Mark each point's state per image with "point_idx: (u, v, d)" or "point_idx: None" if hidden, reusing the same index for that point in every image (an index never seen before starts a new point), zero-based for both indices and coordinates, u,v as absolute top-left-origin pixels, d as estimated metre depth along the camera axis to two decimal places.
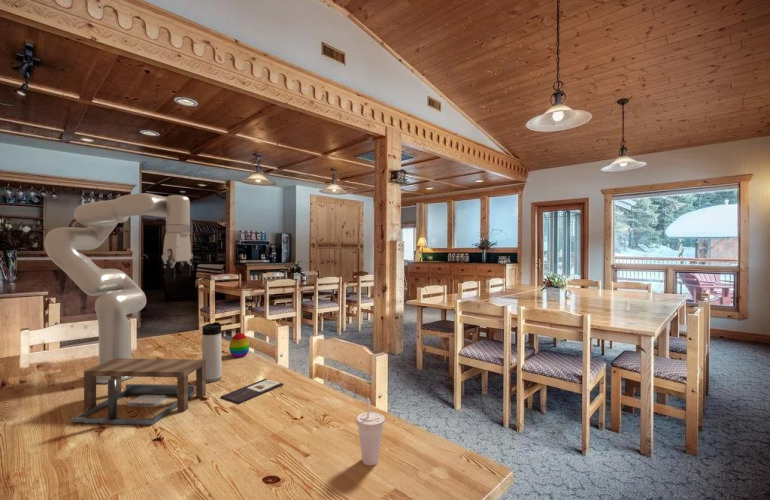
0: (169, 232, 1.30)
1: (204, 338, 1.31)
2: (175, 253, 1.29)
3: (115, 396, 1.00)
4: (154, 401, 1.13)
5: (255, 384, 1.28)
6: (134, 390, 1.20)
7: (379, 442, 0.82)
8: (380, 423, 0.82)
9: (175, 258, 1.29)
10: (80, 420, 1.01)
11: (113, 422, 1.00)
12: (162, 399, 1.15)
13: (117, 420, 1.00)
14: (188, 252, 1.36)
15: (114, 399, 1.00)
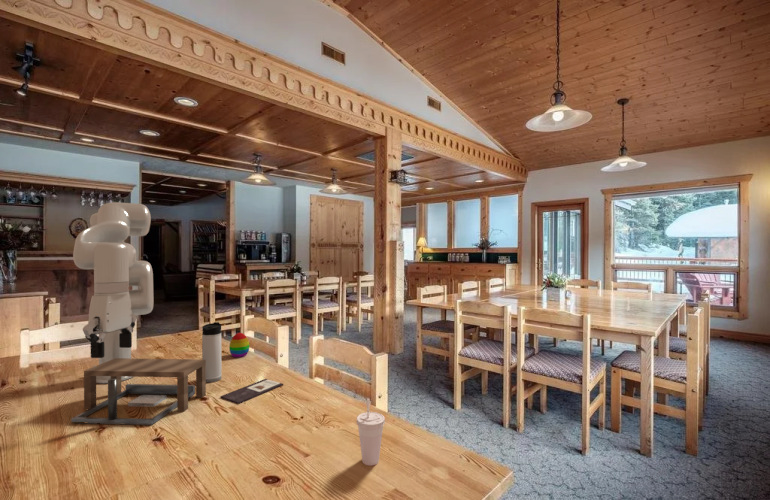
0: (97, 293, 0.97)
1: (204, 338, 1.31)
2: (104, 322, 0.95)
3: (115, 396, 1.00)
4: (154, 401, 1.13)
5: (255, 384, 1.28)
6: (134, 390, 1.20)
7: (379, 442, 0.82)
8: (380, 423, 0.82)
9: (104, 329, 0.95)
10: (80, 420, 1.01)
11: (113, 422, 1.00)
12: (162, 399, 1.15)
13: (117, 420, 1.00)
14: (127, 316, 1.03)
15: (114, 399, 1.00)
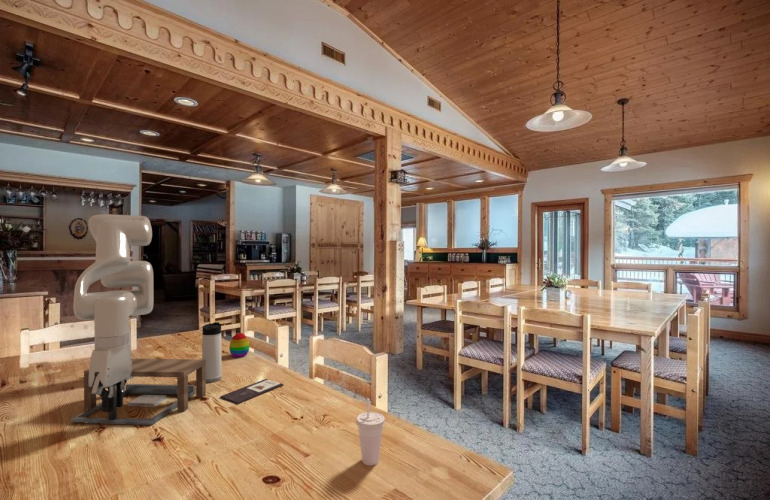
0: (97, 348, 0.97)
1: (204, 338, 1.31)
2: (104, 377, 0.96)
3: (115, 396, 1.00)
4: (154, 401, 1.13)
5: (255, 384, 1.28)
6: (134, 390, 1.20)
7: (379, 442, 0.82)
8: (380, 423, 0.82)
9: (104, 384, 0.96)
10: (80, 420, 1.01)
11: (113, 422, 1.00)
12: (162, 399, 1.15)
13: (117, 420, 1.00)
14: (127, 367, 1.03)
15: None
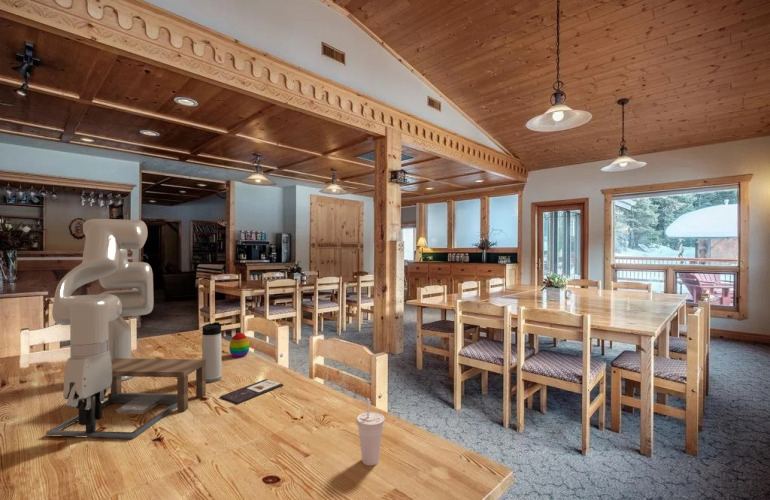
0: (73, 356, 0.90)
1: (204, 338, 1.31)
2: (81, 388, 0.88)
3: (93, 408, 0.93)
4: (144, 407, 1.08)
5: (255, 384, 1.28)
6: (117, 399, 1.13)
7: (379, 442, 0.82)
8: (380, 423, 0.82)
9: (81, 395, 0.89)
10: (56, 433, 0.93)
11: (91, 436, 0.93)
12: (152, 405, 1.11)
13: (95, 433, 0.93)
14: (106, 377, 0.96)
15: None
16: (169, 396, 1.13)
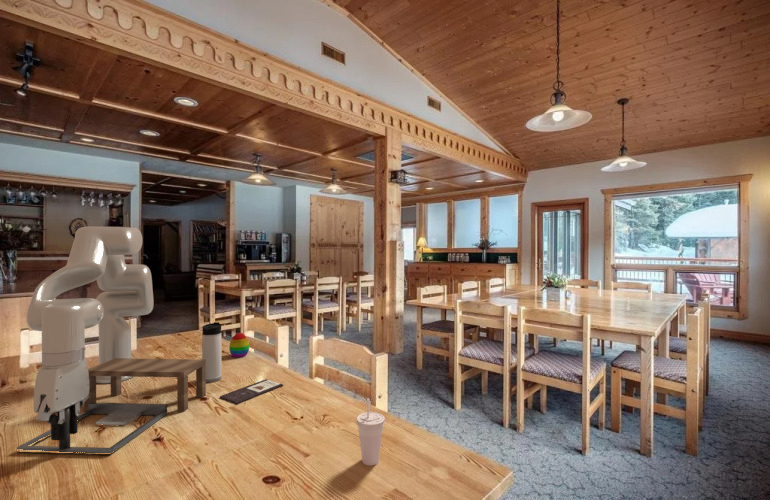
0: (45, 366, 0.82)
1: (204, 338, 1.31)
2: (52, 401, 0.81)
3: (67, 421, 0.86)
4: (125, 419, 1.01)
5: (255, 384, 1.28)
6: (98, 410, 1.06)
7: (379, 442, 0.82)
8: (380, 423, 0.82)
9: (52, 409, 0.81)
10: (27, 449, 0.86)
11: None
12: (135, 417, 1.04)
13: (70, 449, 0.86)
14: (82, 387, 0.88)
15: None
16: (153, 406, 1.05)
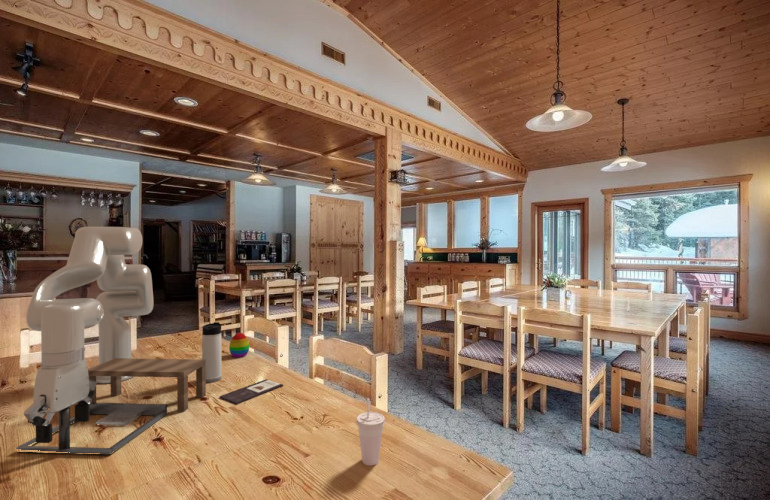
0: (44, 366, 0.82)
1: (204, 338, 1.31)
2: (52, 401, 0.81)
3: (67, 421, 0.86)
4: (125, 420, 1.01)
5: (255, 384, 1.28)
6: (98, 410, 1.06)
7: (379, 442, 0.82)
8: (380, 423, 0.82)
9: (52, 409, 0.81)
10: (26, 449, 0.86)
11: None
12: (135, 417, 1.03)
13: (69, 450, 0.86)
14: (82, 387, 0.88)
15: (66, 425, 0.86)
16: (153, 406, 1.05)
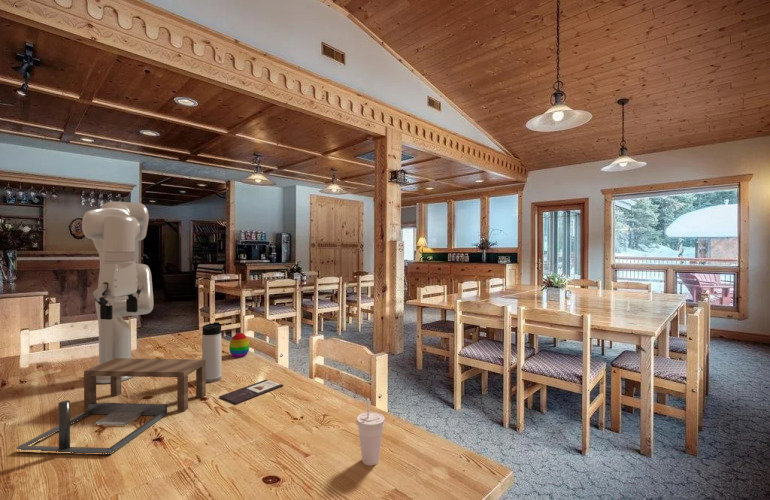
0: (106, 261, 1.06)
1: (204, 338, 1.31)
2: (112, 288, 1.05)
3: (67, 421, 0.86)
4: (125, 420, 1.01)
5: (255, 385, 1.27)
6: (98, 410, 1.06)
7: (379, 442, 0.82)
8: (380, 423, 0.82)
9: (112, 294, 1.05)
10: (26, 449, 0.86)
11: None
12: (135, 417, 1.03)
13: (69, 449, 0.86)
14: (133, 283, 1.12)
15: (66, 425, 0.86)
16: (153, 406, 1.05)
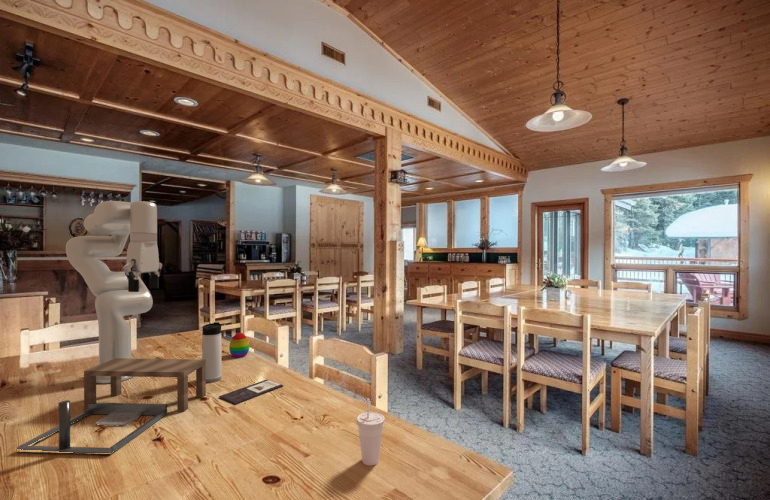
0: (133, 241, 1.21)
1: (204, 338, 1.31)
2: (139, 264, 1.20)
3: (67, 421, 0.86)
4: (126, 419, 1.01)
5: (255, 385, 1.27)
6: (98, 410, 1.06)
7: (379, 442, 0.82)
8: (380, 423, 0.82)
9: (139, 269, 1.20)
10: (27, 449, 0.86)
11: None
12: (135, 417, 1.04)
13: (70, 449, 0.86)
14: (155, 262, 1.27)
15: (66, 425, 0.86)
16: (153, 406, 1.05)
